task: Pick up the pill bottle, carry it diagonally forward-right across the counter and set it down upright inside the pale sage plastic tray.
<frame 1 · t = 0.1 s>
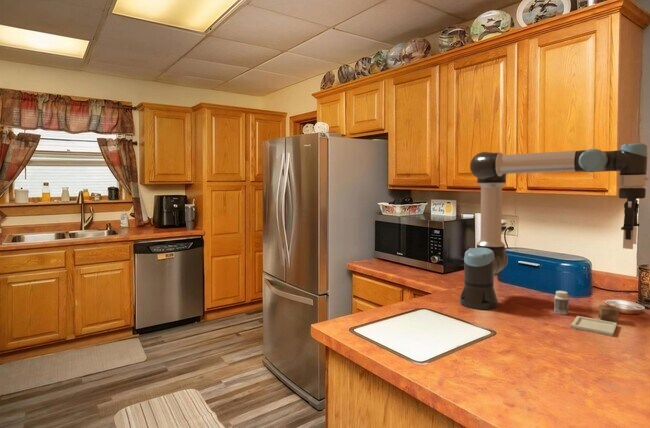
hand: (629, 246, 140), 28 cm above the countertop, fingers open, 13 cm apart
pill bottle: (561, 313, 152), on the countertop
walnut cube: (608, 320, 143), on the countertop
tray: (593, 327, 137), on the countertop
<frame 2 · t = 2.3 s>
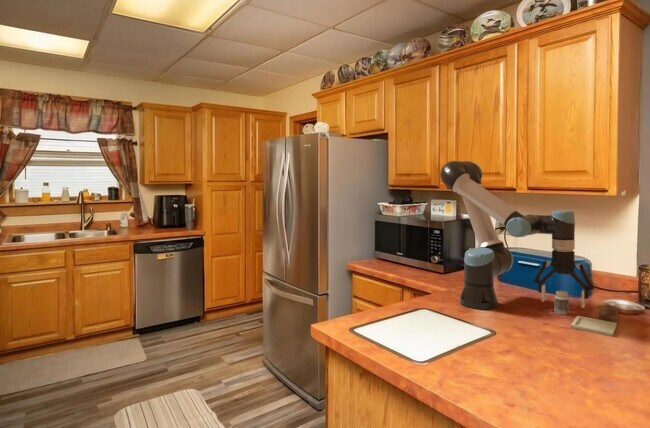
hand: (562, 303, 152), 4 cm above the countertop, fingers open, 13 cm apart
nothing on the countertop moved.
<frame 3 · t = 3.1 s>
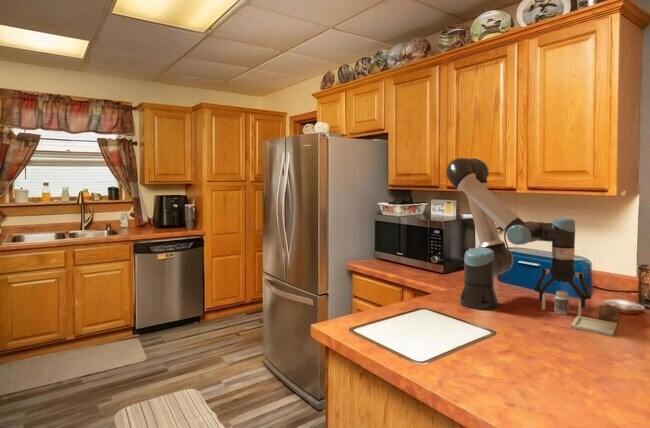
hand: (561, 312, 152), 0 cm above the countertop, fingers open, 12 cm apart
nothing on the countertop moved.
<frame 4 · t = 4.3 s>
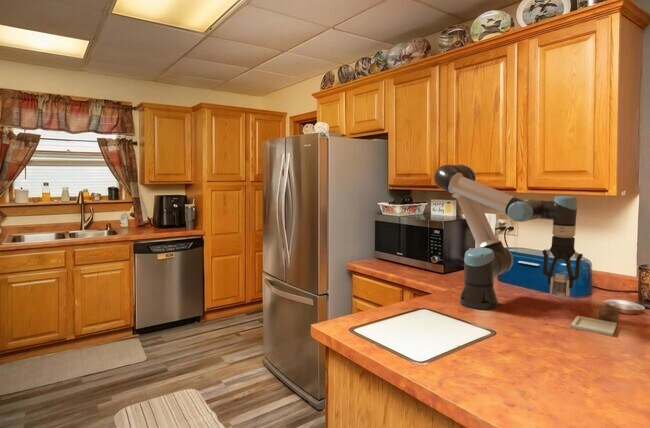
hand: (559, 294, 152), 7 cm above the countertop, fingers closed on pill bottle, 5 cm apart
pill bottle: (559, 295, 152), point 7 cm above the countertop, touching gripper
everything else where it was.
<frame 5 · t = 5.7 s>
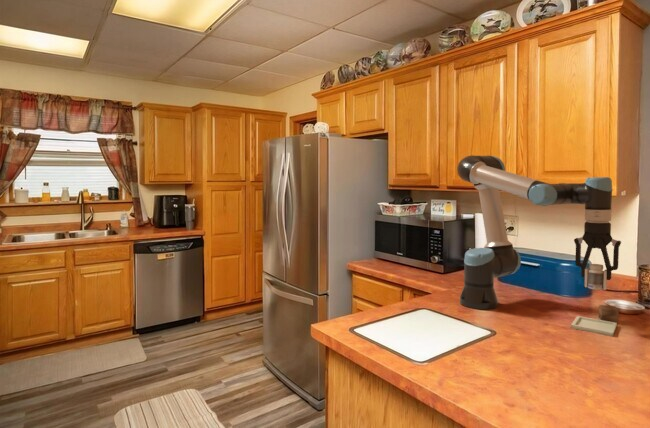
hand: (595, 287, 136), 14 cm above the countertop, fingers closed on pill bottle, 5 cm apart
pill bottle: (595, 288, 136), point 14 cm above the countertop, touching gripper
everything else where it was.
when the fingers open (1 cm above the countertop, at t = 7.4 s): pill bottle stays where it is, resting on tray.
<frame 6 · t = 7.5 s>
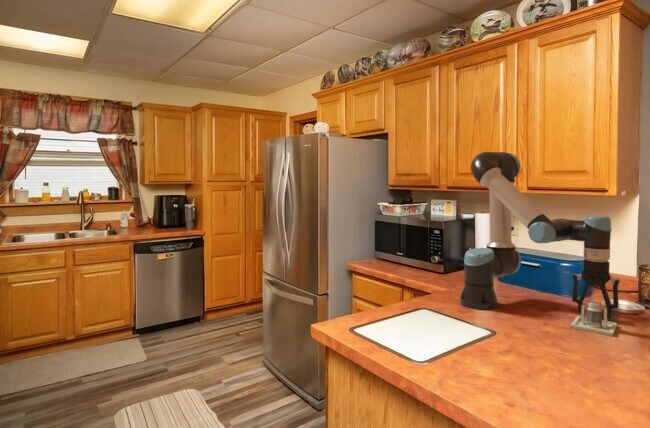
hand: (593, 324, 137), 1 cm above the countertop, fingers open, 6 cm apart
pill bottle: (593, 326, 137), resting on tray
everything else where it was.
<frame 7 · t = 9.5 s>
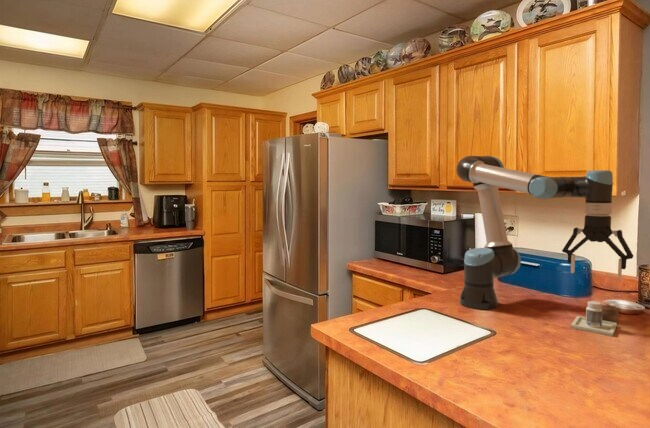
hand: (595, 275, 136), 19 cm above the countertop, fingers open, 13 cm apart
nothing on the countertop moved.
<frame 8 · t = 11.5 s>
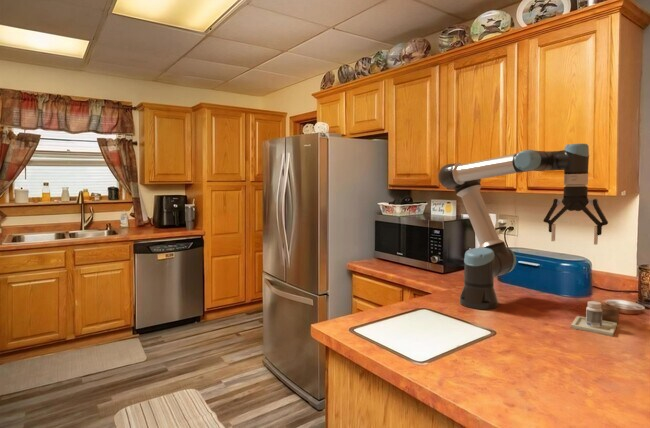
hand: (573, 242, 145), 29 cm above the countertop, fingers open, 13 cm apart
nothing on the countertop moved.
at the end: pill bottle inside the target area on the tray (0.1 cm from its centre), point 0.3 cm above the tray's base; pill bottle tilted 0°; the gripper is holding nothing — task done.
